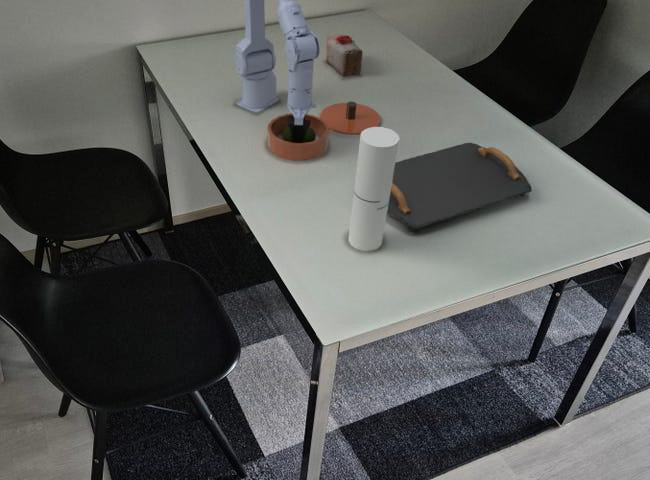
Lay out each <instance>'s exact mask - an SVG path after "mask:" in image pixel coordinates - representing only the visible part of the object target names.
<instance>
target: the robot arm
mask: <svg viewBox="0 0 650 480" xmlns="http://www.w3.org/2000/svg"><path fill="white" fill-rule="evenodd" d="M275 2H276V3H277V6H278V7H277V11H276V18H277V20H278V23H279V27H280V28H281V31H282V34H283V37H284V40H285V43H284V46H283V48H284V54H285V59H286V67H287V68H288V80H287V81H288V83H287V101H286V108H288V110H289V111H290V113H292V117H293V118H287V124H288V126H289V128H290V130H291V134H292V140H293V143H303V140H304V136H305V133H306V131H307V129H308V127H309V126H310V123H311V120H305V117H306V114H308V113H309V111H310V110H311V109H315V108H317V101H316V100H315V101H314V100H312V99H313V81H314V65H315V64H314V63H315V60H316V59H317V58H318V57H319V55H320V52H321V51H320V50H321V49H320V48H321V47H320V41H319V38H318V36H317V35H316V33H315V32H313V30H312V29H311V28H310V27H309V26H308V24H307V21H306V18H305V16H304V13H303V10H302V6H301V5H300V4H299V3H298V2H297V1H294V0H275ZM243 4H244V5H243V6H244V8H243V9H244V30H245V31H244V32H245V33H244V34H245V36H244V37H243V39H241V40H240V41H239V42H238V43H237V44H236V45H235V56H234V59H233V61H234V67H235V71H236V72H237V74H238V75H239V76H240V77H241V97H242V99H240V100H238V101H236V102H235V105H237V106H239V107H241V108H244V109H245V110H248V111H252V112H255V113H259V112H261V111H262V110H265V109H267V108H268V107H270V106H271V105H273V104H275V103H276V102H278V101H279V99H278V98H277V76H276V74H275V72H274V69H275V68H276V63H277V58H276V54H275V47H274V44H273V43H272V42H271V40H270V39H268V38H267V37H266V13H265V12H266V11H265V0H243ZM314 59H315V60H314Z"/></svg>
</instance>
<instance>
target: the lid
mask: <svg viewBox="0 0 650 480" xmlns="http://www.w3.org/2000/svg"><path fill="white" fill-rule="evenodd" d="M319 115H320V116H319V118H320V119H322V120H323V121H324V122H326V124H327V125H328V127H329V131H330V130H331V131H333V132H336V133H338V134H343V135H350V136H351V135H352V136H354V135H355V136H356V135H361V133H362V131H364V130H365V129H367V128H371V127H380V125H381V116H380V114H379V112H377V111H376V110H375V109H374V108H372V107H370V106H367V105H365V104H361V103H357V102H356V101H348V102H338V103H333V104H330V105H328V106H326V107H325V108H323V109H322V110H321V112H320V114H319Z"/></svg>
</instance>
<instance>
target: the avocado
mask: <svg viewBox="0 0 650 480" xmlns="http://www.w3.org/2000/svg"><path fill="white" fill-rule="evenodd" d="M316 135H317V134H315V132H314V130H313V129H312V128H310V127H308V129H307V131H306V133H305V136H304V140H303V143H307V142H312V141H315V140H316V137H317V136H316ZM282 140H284V141H287V142H292V143H293V140H292V134H291V130H290V128H289V126H287V127H286V128H285V129H284V131H283V132H282Z"/></svg>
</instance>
